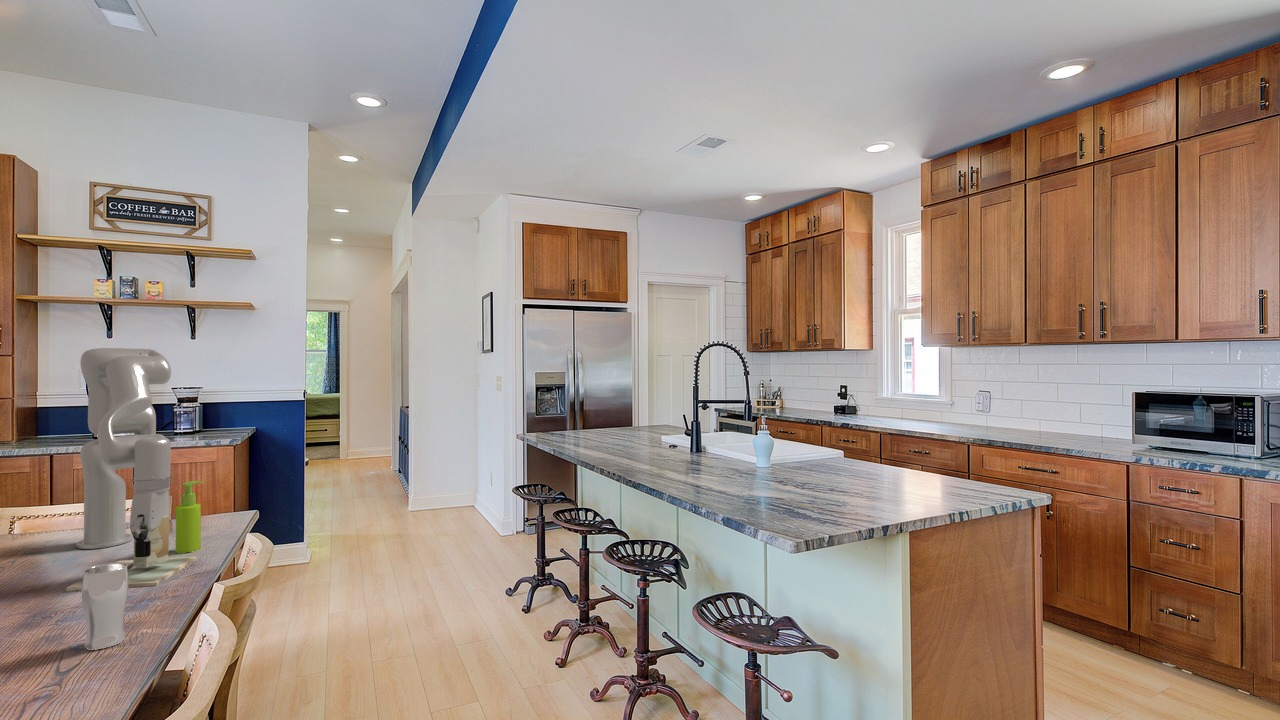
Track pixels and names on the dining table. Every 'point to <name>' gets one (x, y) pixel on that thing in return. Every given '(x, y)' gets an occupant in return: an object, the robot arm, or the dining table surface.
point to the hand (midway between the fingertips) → (151, 551)
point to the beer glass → (104, 604)
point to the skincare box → (155, 545)
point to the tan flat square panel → (148, 572)
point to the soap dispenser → (188, 521)
